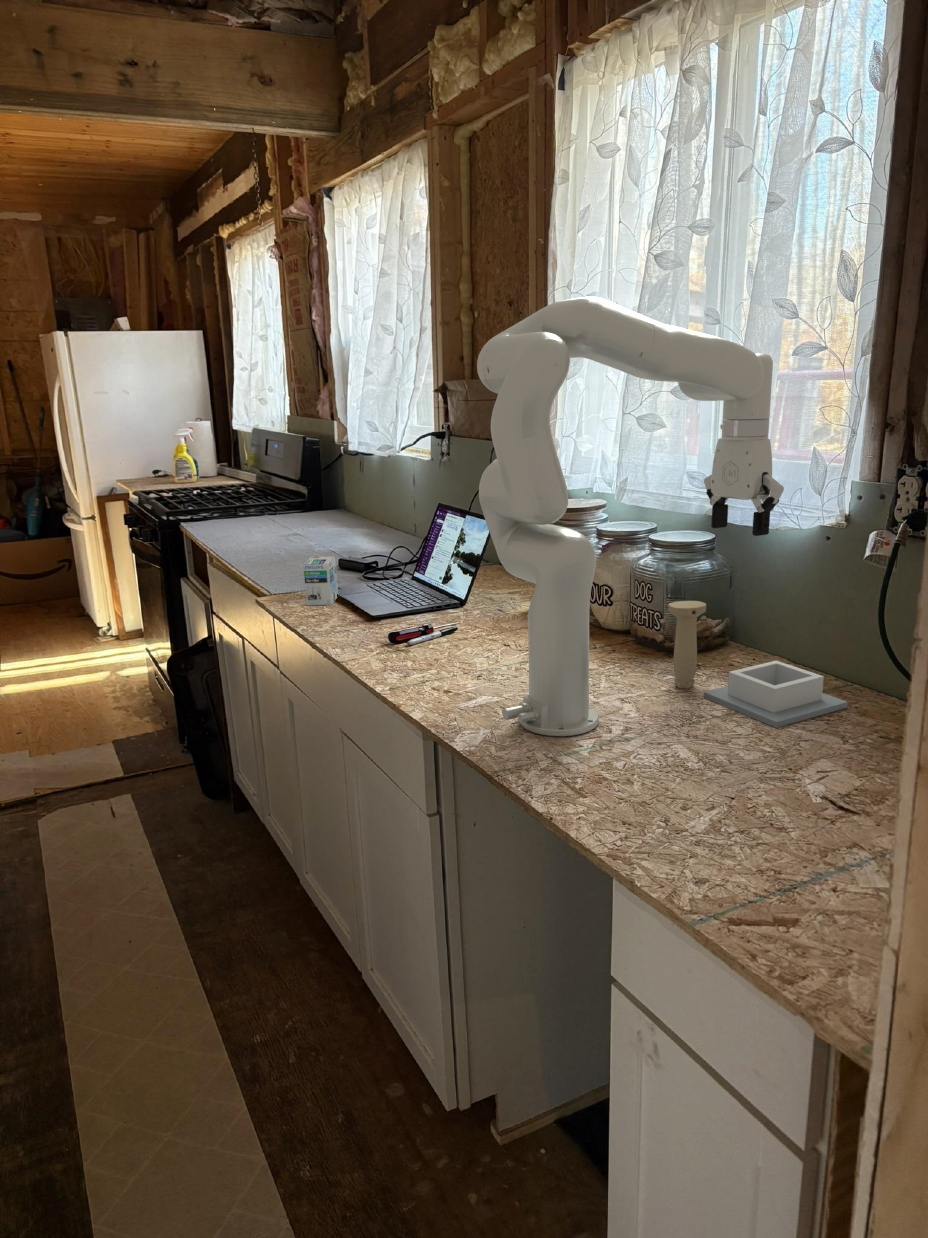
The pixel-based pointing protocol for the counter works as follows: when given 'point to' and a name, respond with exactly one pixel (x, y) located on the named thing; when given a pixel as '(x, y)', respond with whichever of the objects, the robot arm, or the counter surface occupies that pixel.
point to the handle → (686, 640)
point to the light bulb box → (320, 580)
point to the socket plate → (776, 694)
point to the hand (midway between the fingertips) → (739, 531)
